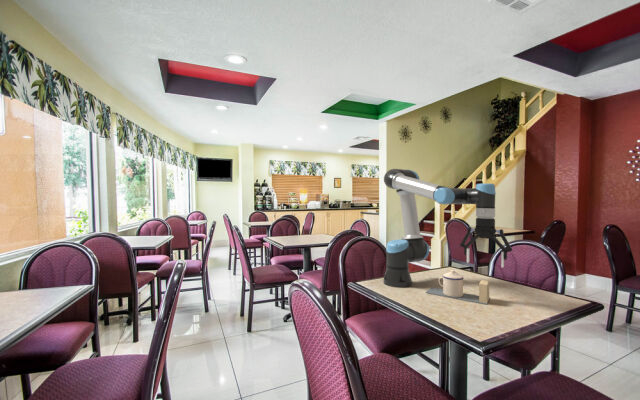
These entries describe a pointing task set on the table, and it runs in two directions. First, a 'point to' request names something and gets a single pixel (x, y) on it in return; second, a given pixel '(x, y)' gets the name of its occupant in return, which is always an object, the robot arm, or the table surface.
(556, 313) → the table surface
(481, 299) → the runner
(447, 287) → the teacup with lid
